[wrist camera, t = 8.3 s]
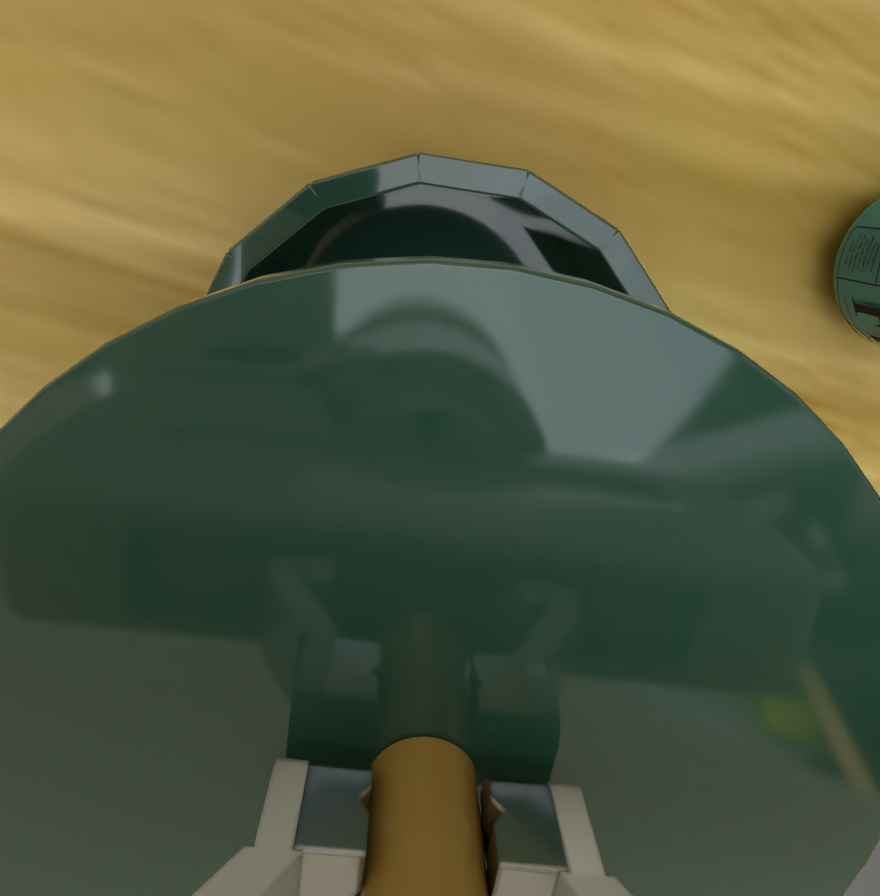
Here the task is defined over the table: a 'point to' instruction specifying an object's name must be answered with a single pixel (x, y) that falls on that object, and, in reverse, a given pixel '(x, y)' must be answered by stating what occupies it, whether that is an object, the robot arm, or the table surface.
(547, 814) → the robot arm
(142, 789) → the lid
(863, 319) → the beverage bottle
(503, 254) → the pot
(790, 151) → the table surface
